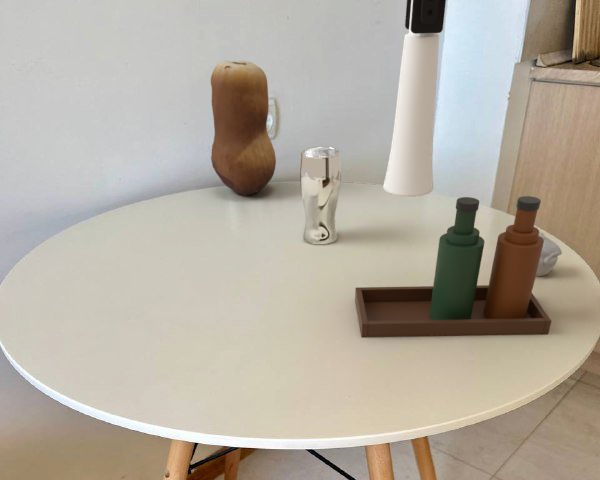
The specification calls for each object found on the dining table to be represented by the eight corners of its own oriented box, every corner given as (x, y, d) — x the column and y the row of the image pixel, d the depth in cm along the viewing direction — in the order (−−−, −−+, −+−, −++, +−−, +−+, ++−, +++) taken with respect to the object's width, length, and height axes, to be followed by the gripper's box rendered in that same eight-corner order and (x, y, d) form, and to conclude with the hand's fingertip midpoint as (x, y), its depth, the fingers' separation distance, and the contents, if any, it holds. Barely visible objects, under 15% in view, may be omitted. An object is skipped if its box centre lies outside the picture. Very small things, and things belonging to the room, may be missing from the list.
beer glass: (322, 248, 103) (322, 159, 94) (293, 239, 107) (291, 152, 98) (347, 237, 107) (350, 150, 98) (318, 228, 111) (318, 143, 102)
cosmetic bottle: (392, 179, 75) (408, -36, 62) (439, 184, 73) (465, -37, 60) (375, 193, 71) (389, -34, 58) (424, 199, 69) (450, -35, 56)
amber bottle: (518, 305, 84) (544, 191, 75) (530, 324, 80) (560, 206, 70) (479, 305, 84) (500, 192, 75) (489, 325, 80) (513, 207, 70)
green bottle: (465, 306, 84) (485, 192, 75) (475, 325, 80) (497, 207, 70) (426, 306, 84) (440, 193, 75) (433, 326, 80) (450, 208, 70)
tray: (522, 301, 87) (526, 284, 85) (546, 339, 78) (552, 320, 76) (354, 304, 87) (355, 287, 85) (361, 342, 78) (362, 323, 77)
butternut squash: (289, 190, 130) (285, 59, 115) (247, 206, 121) (238, 68, 106) (243, 178, 137) (234, 54, 122) (201, 193, 129) (185, 62, 114)
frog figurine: (508, 265, 97) (517, 224, 92) (554, 270, 95) (565, 227, 91) (508, 281, 92) (518, 238, 88) (556, 286, 90) (568, 242, 86)
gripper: (517, -246, 44) (477, 39, 56) (467, -200, 58) (443, 23, 69) (417, -243, 45) (397, 40, 56) (390, -198, 58) (378, 24, 69)
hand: (423, 28), depth 62 cm, fingers closed on cosmetic bottle, 3 cm apart
